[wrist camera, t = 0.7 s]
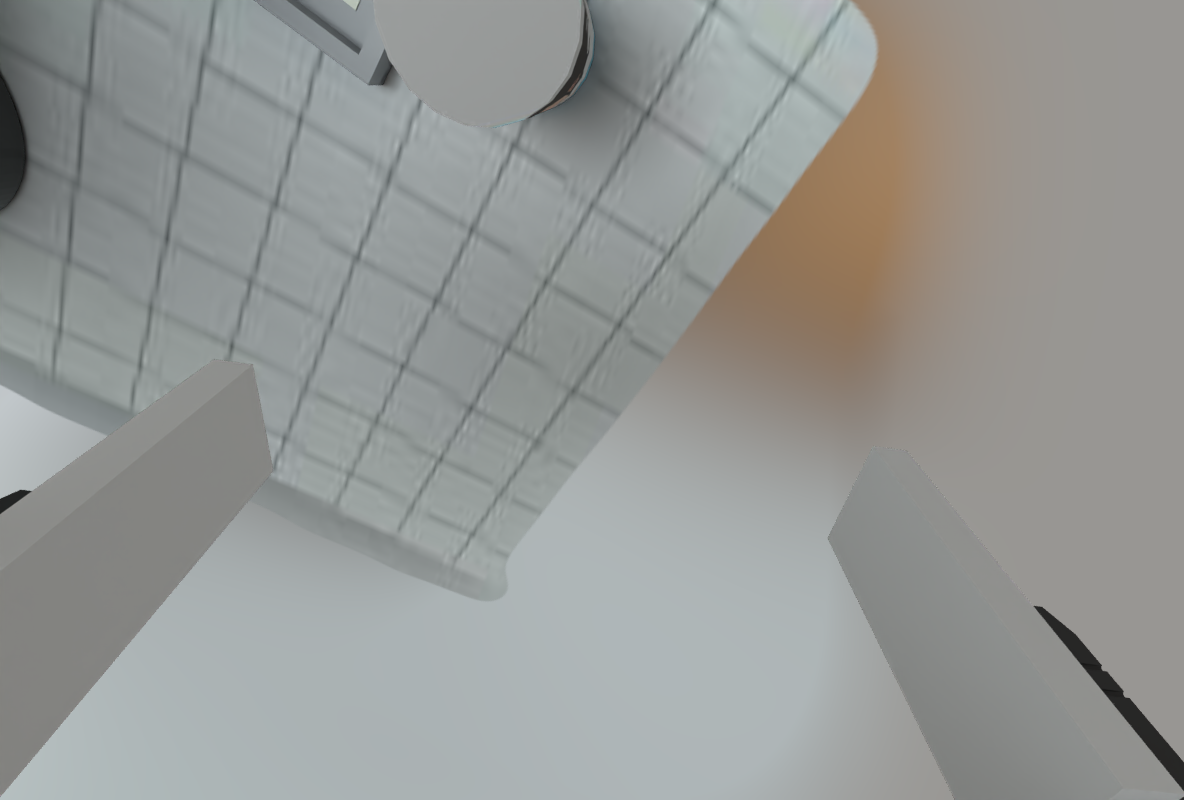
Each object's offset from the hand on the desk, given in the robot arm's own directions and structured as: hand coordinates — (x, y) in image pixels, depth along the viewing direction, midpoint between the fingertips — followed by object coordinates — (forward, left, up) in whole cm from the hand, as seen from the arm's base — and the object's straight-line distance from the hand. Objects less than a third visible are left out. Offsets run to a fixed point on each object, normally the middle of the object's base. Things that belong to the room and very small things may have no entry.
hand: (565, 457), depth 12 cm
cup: (-8, +5, -27) cm, 28 cm away
